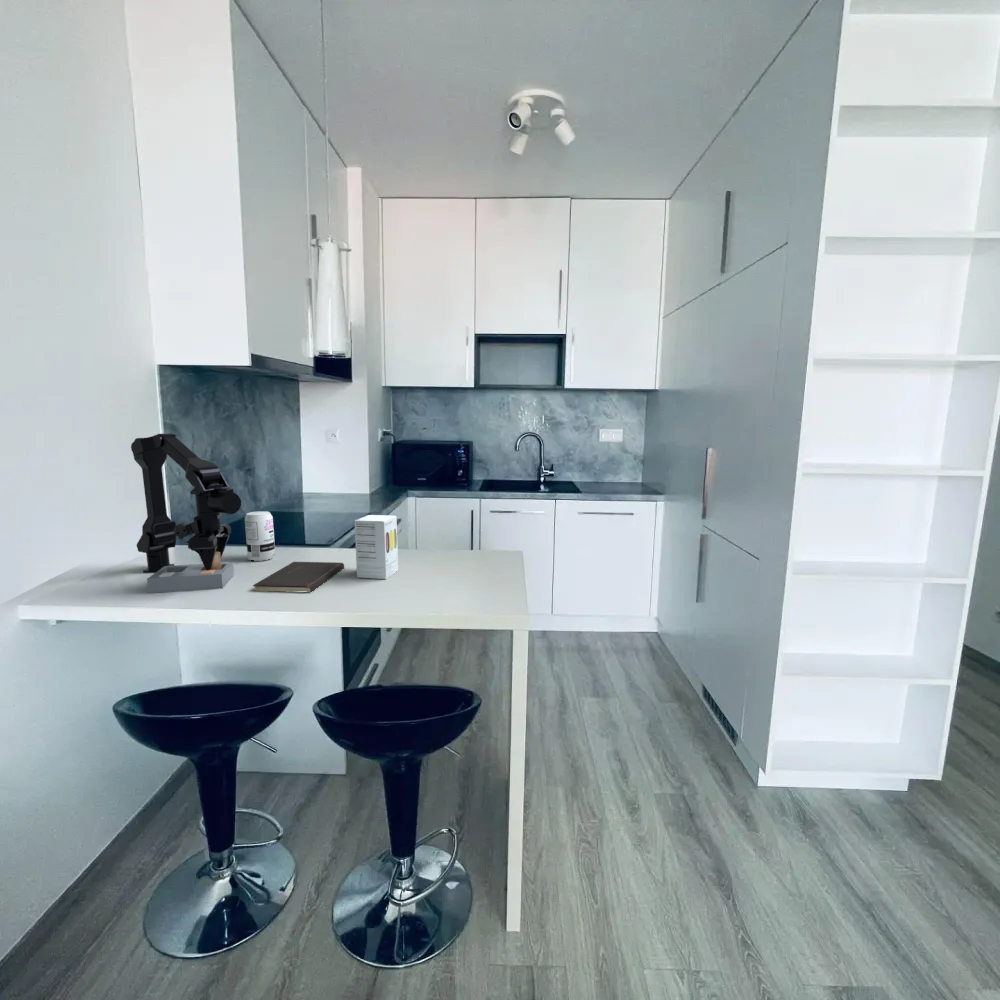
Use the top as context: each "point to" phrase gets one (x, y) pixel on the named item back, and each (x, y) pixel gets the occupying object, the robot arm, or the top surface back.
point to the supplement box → (376, 546)
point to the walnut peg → (216, 562)
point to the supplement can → (260, 535)
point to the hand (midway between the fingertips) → (213, 565)
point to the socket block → (189, 578)
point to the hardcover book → (300, 576)
